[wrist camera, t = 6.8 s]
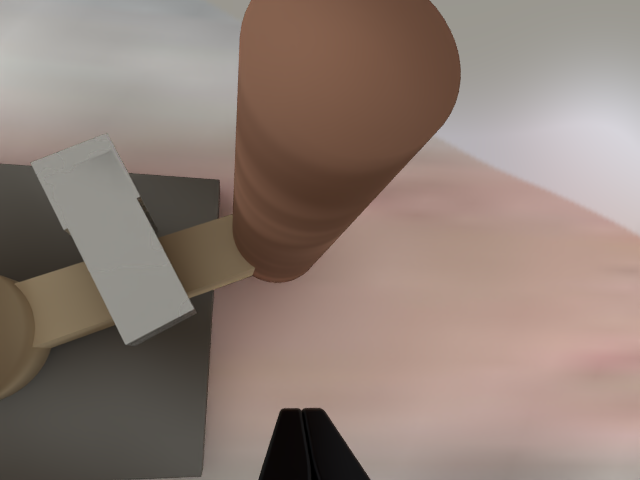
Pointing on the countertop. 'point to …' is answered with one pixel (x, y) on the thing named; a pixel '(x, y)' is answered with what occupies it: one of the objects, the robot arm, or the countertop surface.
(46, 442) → the base plate
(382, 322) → the countertop surface
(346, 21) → the link
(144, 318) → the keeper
